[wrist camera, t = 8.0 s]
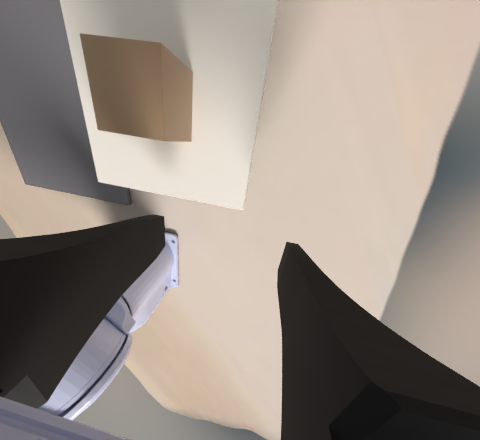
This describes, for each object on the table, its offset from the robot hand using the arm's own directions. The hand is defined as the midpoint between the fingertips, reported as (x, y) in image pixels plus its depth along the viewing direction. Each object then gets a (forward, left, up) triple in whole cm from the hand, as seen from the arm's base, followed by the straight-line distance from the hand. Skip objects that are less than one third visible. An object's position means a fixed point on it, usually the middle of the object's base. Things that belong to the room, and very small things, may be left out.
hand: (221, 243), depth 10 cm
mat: (+5, +22, -10) cm, 25 cm away
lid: (+7, +6, -6) cm, 11 cm away
